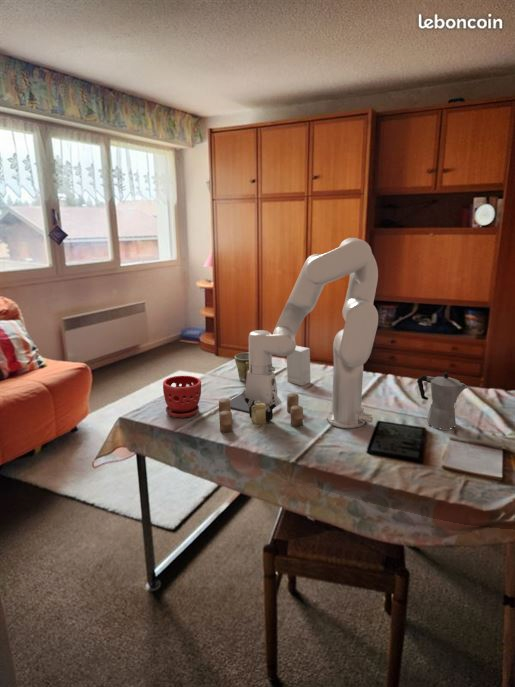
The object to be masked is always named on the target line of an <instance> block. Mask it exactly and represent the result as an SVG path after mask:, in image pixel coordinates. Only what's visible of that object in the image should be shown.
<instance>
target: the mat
mask: <svg viewBox="0 0 515 687" xmlns="http://www.w3.org/2000/svg"><path fill="white" fill-rule="evenodd" d="M229 400H230V404H231V410H236V411H240V412H244V413H246V414H247V413H248V414H249V407H248V404H247V403H246V401H245V399H244V398H243V397H242V396H241V393H239V394H238V395H236V396H235V397H233V398H231V399H229ZM272 402H273V403H275V401H274V400H273V399H272ZM256 403H263V402H259V401H255V404H256Z"/></svg>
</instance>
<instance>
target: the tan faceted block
mask: <svg viewBox="0 0 515 687" xmlns="http://www.w3.org/2000/svg"><path fill="white" fill-rule="evenodd" d="M266 411H267V408H266V405H265V403H256V404H255V405H253V406H252V407H251V416H252V418H251V421H252V422H253V423H254V424H256V425H266V424H267V423H268V422H266Z"/></svg>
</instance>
